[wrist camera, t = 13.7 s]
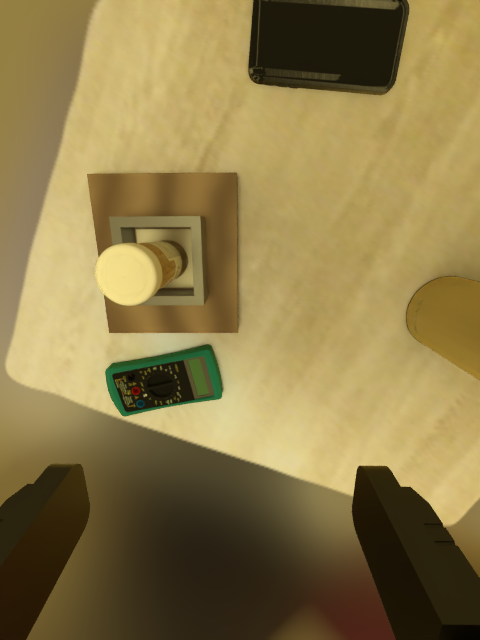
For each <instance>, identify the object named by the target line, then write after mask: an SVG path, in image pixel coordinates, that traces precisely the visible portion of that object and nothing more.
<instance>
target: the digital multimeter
mask: <svg viewBox="0 0 480 640" xmlns="http://www.w3.org/2000/svg"><path fill="white" fill-rule="evenodd" d="M180 360H181V361H180ZM175 361H176V362H175ZM170 362H171V363H170ZM165 363H166V364H165ZM139 368H140V369H139ZM129 370H130V371H129ZM124 371H125V372H124ZM119 372H120V373H119ZM105 373H106V382H107V387H108V391H109V394H110V396H111V399H112V401H113V402H114V404H115V406H116V407H117V409H118V410H119V412H120V413H121V415H122V416H129V415H133V414H138V413H142V412H146V411H151V410H155V409H160V408H165V407H170V406H176V405H182V404H188V403H195V402H202V401H209V400H217V399H220V398H221V397H222V391H223V388H222V382H221V377H220V372H219V368H218V364H217V361H216V358H215V355H214V352H213V349H212V347H211V346H210V345H204V346H200V347H196V348H192V349H188V350H184V351H180V352H175V353H171V354H166V355H161V356H157V357H151V358H145V359H139V360H133V361H126V362H119V363H113V364H111V365H110V366H109V367H108V368H107V369H106V371H105ZM147 378H148V379H147ZM164 398H165V399H164Z"/></svg>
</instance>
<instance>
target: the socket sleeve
mask: <svg viewBox="0 0 480 640" xmlns="http://www.w3.org/2000/svg"><path fill="white" fill-rule="evenodd" d="M109 220H110V228H111V236H112V244H113V245H117V244H122V243H136V238H135V228H134V227H191V243H192V263H193V282H194V289H159V290H158V291H157V292H156V294H155V295H153V296H152V297H151V298H150V299H148V300H146V301H145V302H143V303H141V304H138V305H204V304H205V302H206V300H207V299H208V277H207V250H206V224H205V217H202V216H138V217H109ZM120 305H121V304H120Z"/></svg>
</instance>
